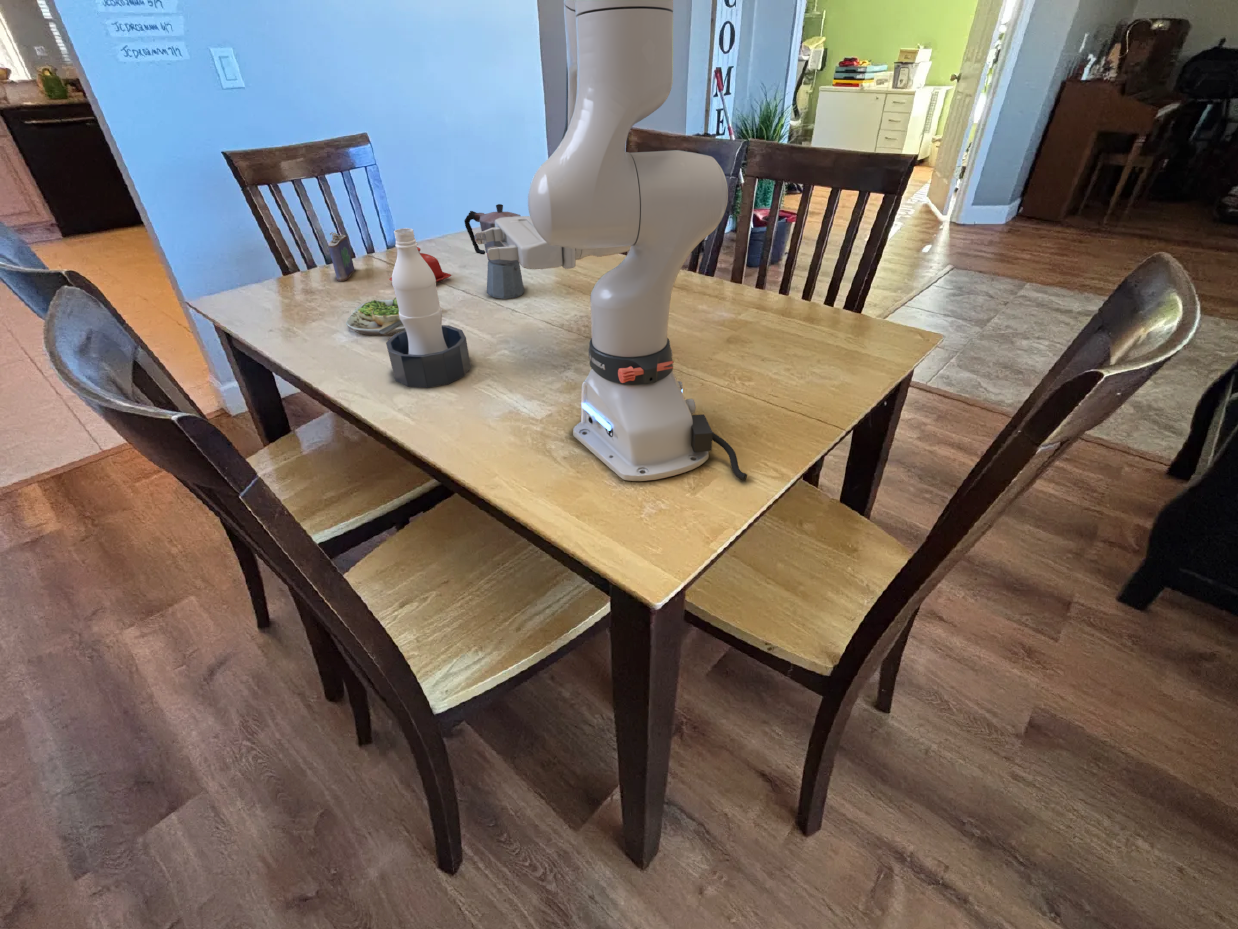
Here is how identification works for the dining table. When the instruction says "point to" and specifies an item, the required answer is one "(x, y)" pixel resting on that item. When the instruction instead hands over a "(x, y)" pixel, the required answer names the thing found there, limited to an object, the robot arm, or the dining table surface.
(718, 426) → the dining table surface
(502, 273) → the moka pot
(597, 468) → the dining table surface
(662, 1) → the robot arm
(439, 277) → the butter dish
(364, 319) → the avocado toast plate
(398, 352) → the dark grey faceted ring
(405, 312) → the water bottle
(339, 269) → the flask
